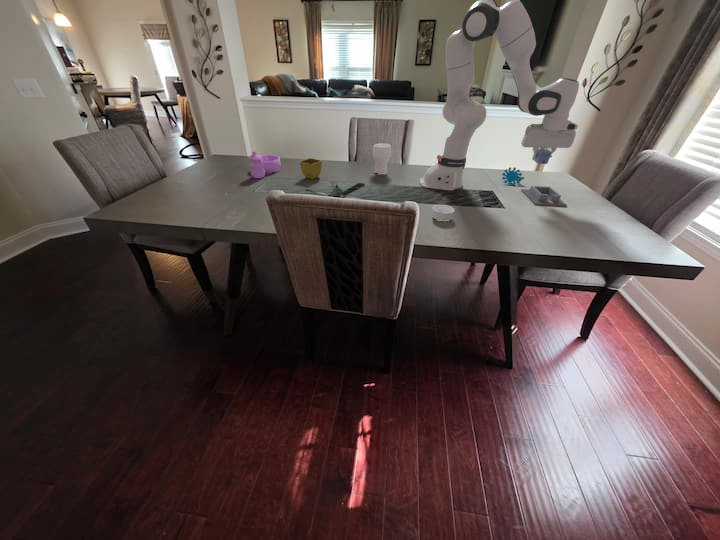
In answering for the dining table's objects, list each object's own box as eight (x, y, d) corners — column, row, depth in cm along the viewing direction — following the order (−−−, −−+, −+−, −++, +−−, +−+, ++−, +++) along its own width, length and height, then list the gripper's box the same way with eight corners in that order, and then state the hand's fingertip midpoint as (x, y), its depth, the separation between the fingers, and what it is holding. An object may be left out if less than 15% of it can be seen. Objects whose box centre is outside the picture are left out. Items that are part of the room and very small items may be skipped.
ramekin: (429, 213, 122) (430, 203, 119) (449, 213, 121) (451, 204, 119) (432, 222, 114) (434, 213, 112) (454, 223, 114) (456, 213, 112)
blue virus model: (500, 181, 150) (506, 164, 151) (496, 186, 156) (502, 169, 157) (521, 187, 148) (527, 169, 149) (517, 191, 154) (522, 175, 154)
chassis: (534, 205, 130) (537, 197, 127) (520, 190, 144) (523, 183, 142) (566, 206, 129) (570, 198, 126) (549, 192, 143) (552, 184, 141)
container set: (261, 165, 173) (256, 142, 165) (285, 166, 172) (281, 143, 164) (242, 178, 153) (236, 153, 145) (269, 180, 152) (265, 154, 144)
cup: (372, 169, 169) (373, 142, 160) (390, 170, 168) (392, 143, 159) (370, 175, 160) (371, 147, 151) (389, 176, 159) (391, 148, 150)
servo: (539, 164, 126) (544, 151, 122) (530, 158, 133) (535, 145, 130) (548, 164, 125) (553, 151, 122) (539, 158, 133) (544, 145, 129)
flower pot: (323, 177, 157) (322, 160, 151) (313, 181, 151) (311, 164, 145) (311, 174, 160) (309, 157, 155) (300, 178, 154) (299, 161, 149)
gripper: (530, 125, 118) (519, 159, 127) (582, 125, 116) (567, 160, 125) (525, 122, 123) (515, 155, 132) (574, 122, 121) (561, 156, 130)
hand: (541, 157), depth 128 cm, fingers closed on servo, 4 cm apart
